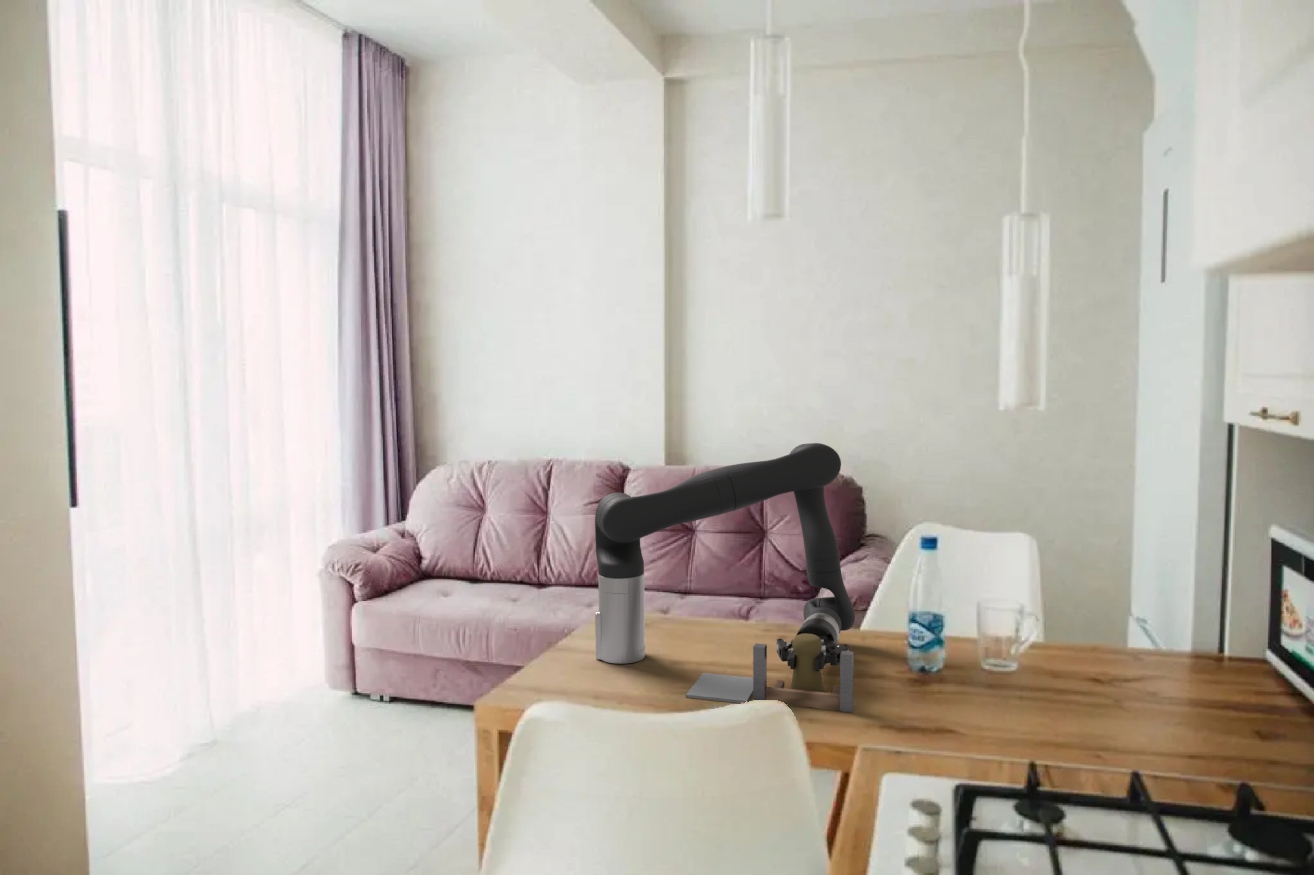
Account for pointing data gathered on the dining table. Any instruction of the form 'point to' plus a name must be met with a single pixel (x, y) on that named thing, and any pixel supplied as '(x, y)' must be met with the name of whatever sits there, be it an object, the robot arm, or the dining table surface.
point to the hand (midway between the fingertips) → (804, 664)
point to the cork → (806, 663)
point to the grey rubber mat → (722, 688)
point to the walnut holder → (822, 700)
